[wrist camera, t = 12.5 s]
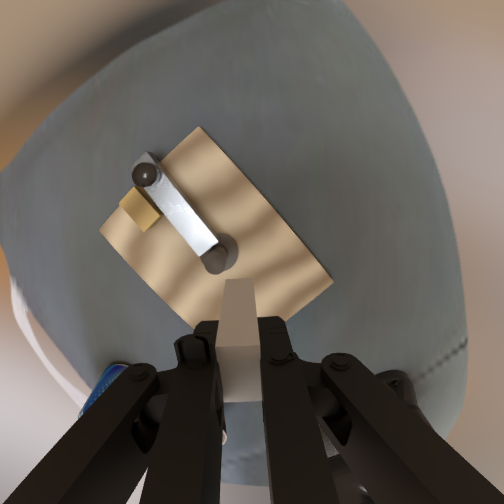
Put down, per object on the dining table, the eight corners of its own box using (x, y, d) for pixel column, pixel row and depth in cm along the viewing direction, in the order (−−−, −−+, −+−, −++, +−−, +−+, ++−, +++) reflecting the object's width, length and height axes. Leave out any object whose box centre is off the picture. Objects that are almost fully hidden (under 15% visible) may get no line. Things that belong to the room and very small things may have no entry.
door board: (331, 279, 39) (348, 298, 32) (230, 356, 42) (229, 385, 35) (200, 127, 33) (190, 116, 26) (102, 228, 36) (78, 238, 29)
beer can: (155, 377, 43) (129, 444, 28) (139, 400, 45) (115, 461, 29) (114, 352, 42) (76, 413, 26) (102, 377, 43) (69, 434, 28)
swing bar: (220, 237, 35) (216, 245, 31) (202, 251, 35) (196, 261, 31) (152, 153, 32) (140, 149, 27) (135, 168, 32) (121, 167, 28)
